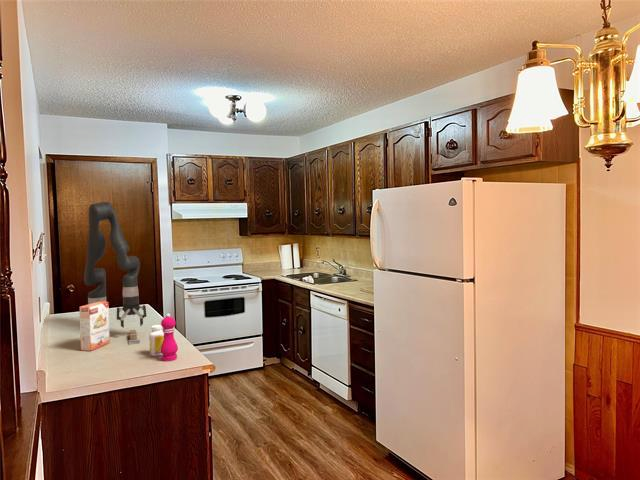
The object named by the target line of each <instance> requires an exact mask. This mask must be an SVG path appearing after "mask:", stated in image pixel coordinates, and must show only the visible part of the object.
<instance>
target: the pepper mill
mask: <svg viewBox="0 0 640 480" xmlns="http://www.w3.org/2000/svg"><path fill="white" fill-rule="evenodd" d="M160 325H161V326H162V332H163V333H164V340H163V343H162V345H161V350H160V351H161V353H162V354H163V355H161V360H162V361H163V362H172V361H176V360H177V359H178V354H177V352H178V351H179V348H178V347H179V346H178V343H177V342H176V340H175V336H174V333H175V326H176V320H175V318H174V317H172V316H171V314H170V313H166V314H165V317H164V318H162V320H161V321H160Z"/></svg>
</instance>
